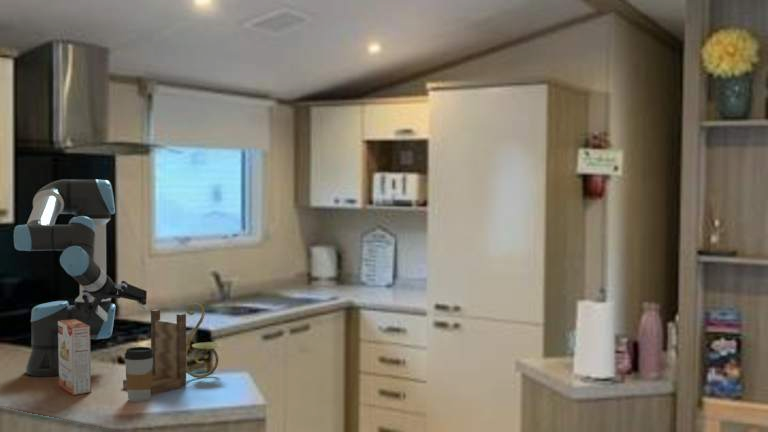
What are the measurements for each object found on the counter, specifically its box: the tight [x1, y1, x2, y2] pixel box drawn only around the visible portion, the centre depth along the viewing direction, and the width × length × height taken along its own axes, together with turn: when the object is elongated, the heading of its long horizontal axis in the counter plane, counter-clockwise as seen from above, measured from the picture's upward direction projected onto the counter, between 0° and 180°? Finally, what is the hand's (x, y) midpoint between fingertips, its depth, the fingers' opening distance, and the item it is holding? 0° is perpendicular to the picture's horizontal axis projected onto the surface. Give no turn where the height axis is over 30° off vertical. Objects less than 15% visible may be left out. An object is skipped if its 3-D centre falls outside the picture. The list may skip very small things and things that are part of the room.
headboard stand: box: [122, 309, 187, 396], centre depth 262 cm, size 14×13×23 cm
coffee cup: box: [124, 346, 154, 403], centre depth 248 cm, size 8×8×15 cm
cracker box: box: [58, 319, 92, 396], centre depth 258 cm, size 14×6×21 cm, turn 37°
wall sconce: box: [186, 302, 222, 379], centre depth 275 cm, size 14×10×25 cm
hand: (126, 312), depth 268 cm, fingers open, 13 cm apart
